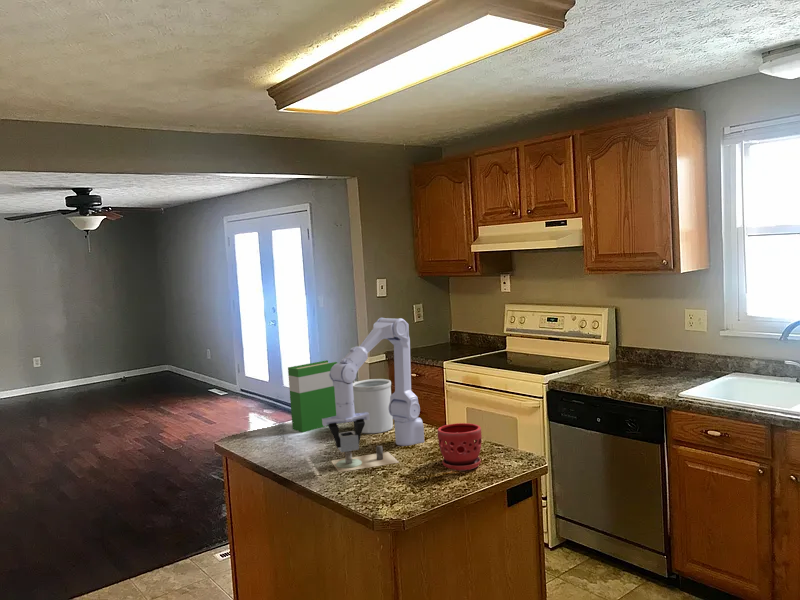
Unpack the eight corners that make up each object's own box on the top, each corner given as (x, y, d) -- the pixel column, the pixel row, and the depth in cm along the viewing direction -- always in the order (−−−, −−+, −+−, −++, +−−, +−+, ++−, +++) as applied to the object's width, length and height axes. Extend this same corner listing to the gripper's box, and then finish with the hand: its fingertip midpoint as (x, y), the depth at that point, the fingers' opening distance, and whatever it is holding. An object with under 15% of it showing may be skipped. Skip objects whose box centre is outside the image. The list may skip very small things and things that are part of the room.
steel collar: (354, 444, 209) (353, 430, 209) (359, 449, 204) (358, 435, 203) (337, 447, 207) (336, 433, 207) (341, 452, 202) (340, 437, 202)
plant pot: (491, 464, 201) (489, 425, 200) (463, 476, 191) (461, 435, 191) (459, 456, 210) (456, 419, 209) (430, 467, 201) (428, 429, 200)
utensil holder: (346, 430, 249) (343, 384, 248) (376, 421, 259) (373, 377, 258) (372, 436, 238) (368, 388, 237) (402, 427, 248) (399, 381, 247)
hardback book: (330, 419, 266) (326, 360, 265) (341, 422, 261) (337, 362, 259) (292, 429, 255) (287, 367, 253) (302, 432, 250) (297, 369, 248)
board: (388, 454, 216) (387, 438, 216) (399, 465, 205) (398, 448, 204) (331, 463, 210) (329, 446, 210) (339, 475, 199) (337, 457, 199)
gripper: (324, 408, 198) (327, 452, 200) (370, 401, 203) (373, 445, 204) (319, 403, 205) (322, 446, 206) (364, 397, 210) (367, 439, 211)
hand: (347, 445), depth 206 cm, fingers closed on steel collar, 6 cm apart
